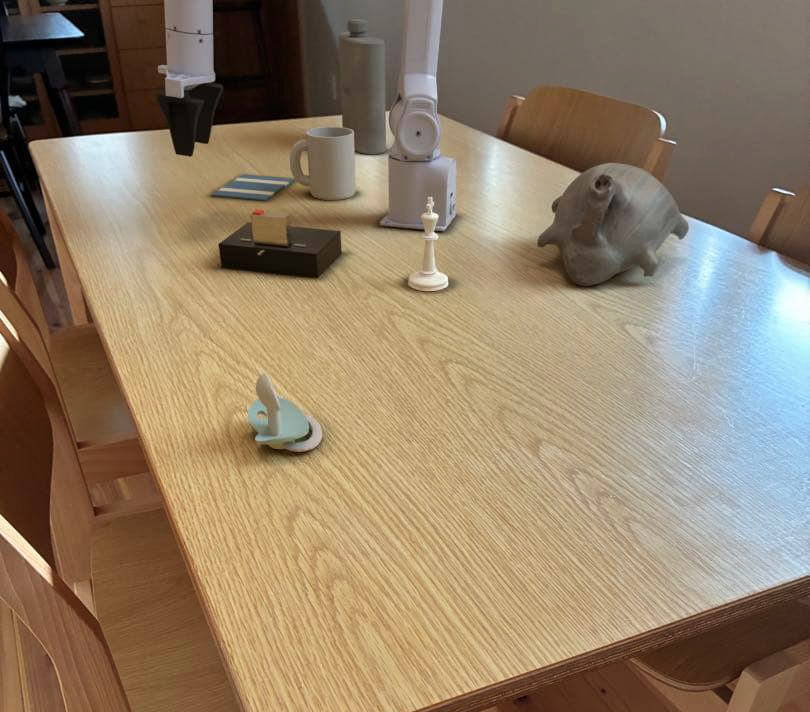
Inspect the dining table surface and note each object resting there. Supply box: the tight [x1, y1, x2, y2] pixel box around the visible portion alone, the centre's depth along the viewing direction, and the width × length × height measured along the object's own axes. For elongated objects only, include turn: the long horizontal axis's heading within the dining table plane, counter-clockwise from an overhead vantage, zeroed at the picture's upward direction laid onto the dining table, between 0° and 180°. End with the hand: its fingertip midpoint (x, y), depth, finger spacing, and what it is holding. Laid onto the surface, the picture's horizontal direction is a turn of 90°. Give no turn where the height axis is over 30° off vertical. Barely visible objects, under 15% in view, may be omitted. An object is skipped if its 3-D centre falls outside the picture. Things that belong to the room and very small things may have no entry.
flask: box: [338, 18, 387, 155], centre depth 146 cm, size 15×6×20 cm, turn 20°
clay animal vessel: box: [537, 162, 690, 287], centre depth 101 cm, size 18×16×14 cm
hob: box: [217, 221, 343, 279], centre depth 102 cm, size 13×11×3 cm
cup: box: [289, 126, 357, 201], centre depth 124 cm, size 7×10×9 cm
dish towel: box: [211, 174, 295, 202], centre depth 130 cm, size 9×12×1 cm
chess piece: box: [407, 197, 449, 292], centre depth 95 cm, size 5×5×10 cm
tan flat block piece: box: [250, 208, 292, 247], centre depth 99 cm, size 4×2×4 cm, turn 75°
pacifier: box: [247, 372, 323, 453], centre depth 68 cm, size 7×6×6 cm
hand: (192, 148), depth 108 cm, fingers open, 7 cm apart
